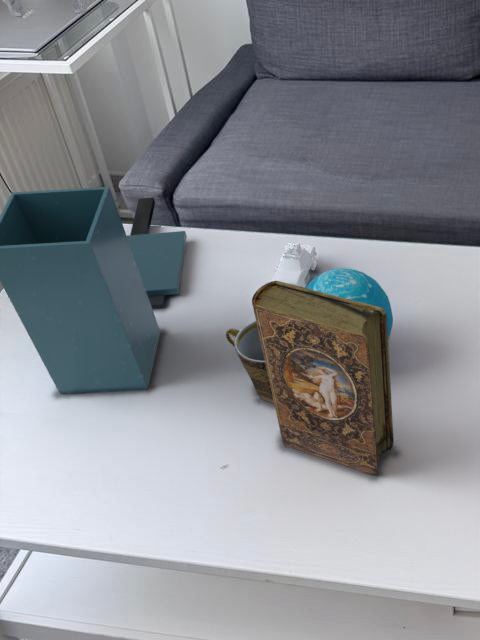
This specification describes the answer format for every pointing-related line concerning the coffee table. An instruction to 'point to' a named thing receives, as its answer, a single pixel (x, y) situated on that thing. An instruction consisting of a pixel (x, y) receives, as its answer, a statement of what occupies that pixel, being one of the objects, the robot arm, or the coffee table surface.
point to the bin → (78, 289)
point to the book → (327, 373)
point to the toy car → (296, 264)
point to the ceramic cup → (252, 358)
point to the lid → (156, 252)
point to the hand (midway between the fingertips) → (50, 13)
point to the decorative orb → (353, 289)
